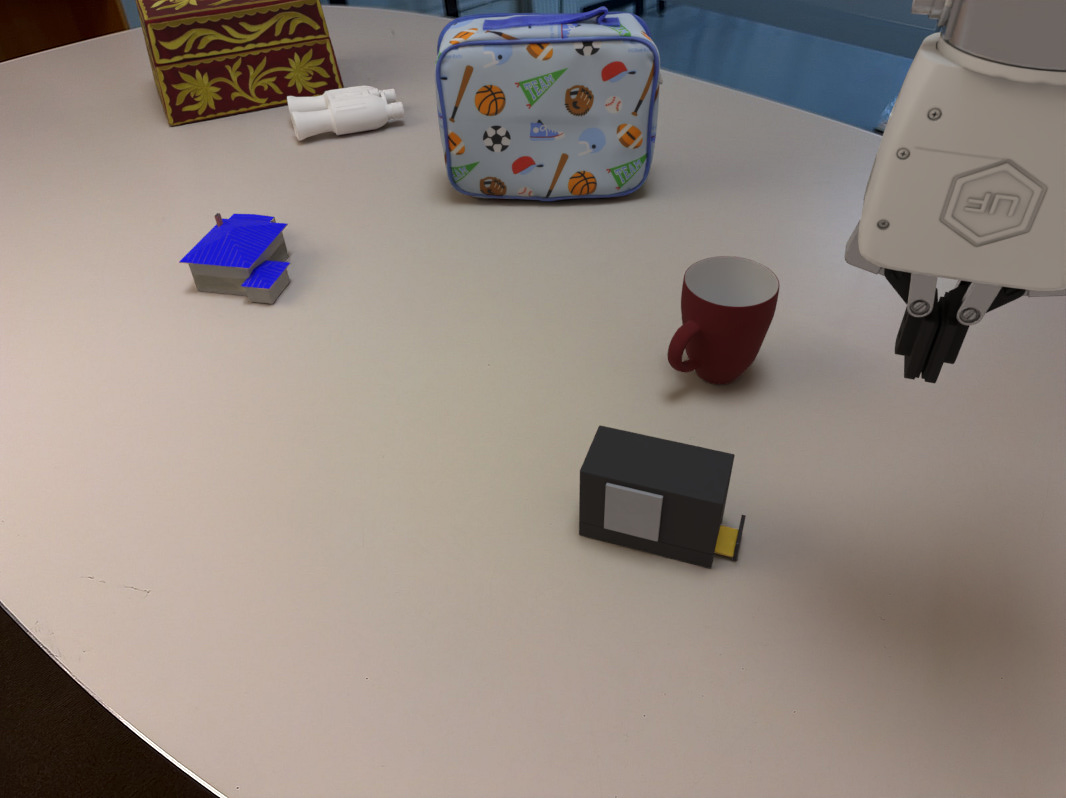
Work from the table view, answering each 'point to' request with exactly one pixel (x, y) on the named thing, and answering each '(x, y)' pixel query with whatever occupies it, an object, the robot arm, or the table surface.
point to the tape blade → (729, 540)
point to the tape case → (654, 495)
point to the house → (241, 258)
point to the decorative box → (236, 54)
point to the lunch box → (547, 104)
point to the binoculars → (343, 111)
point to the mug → (723, 317)
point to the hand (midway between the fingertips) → (919, 365)
